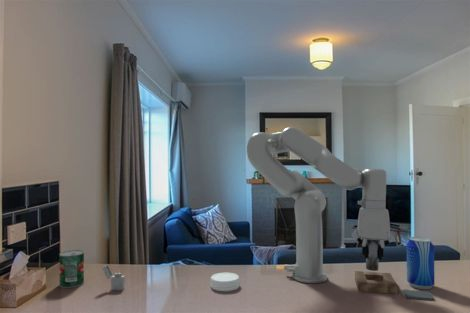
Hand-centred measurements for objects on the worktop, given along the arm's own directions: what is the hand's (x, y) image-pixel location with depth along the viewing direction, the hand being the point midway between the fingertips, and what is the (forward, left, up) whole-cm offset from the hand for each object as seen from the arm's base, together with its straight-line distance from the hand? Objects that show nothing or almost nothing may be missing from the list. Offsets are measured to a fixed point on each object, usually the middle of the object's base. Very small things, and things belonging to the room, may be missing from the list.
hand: (372, 257), depth 123 cm
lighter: (-85, -22, -10) cm, 89 cm away
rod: (0, 0, -4) cm, 4 cm away
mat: (+13, -6, -10) cm, 17 cm away
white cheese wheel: (-49, -11, -10) cm, 51 cm away
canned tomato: (-102, -21, -10) cm, 105 cm away
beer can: (+16, +4, -10) cm, 19 cm away
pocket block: (+1, 0, -10) cm, 10 cm away
